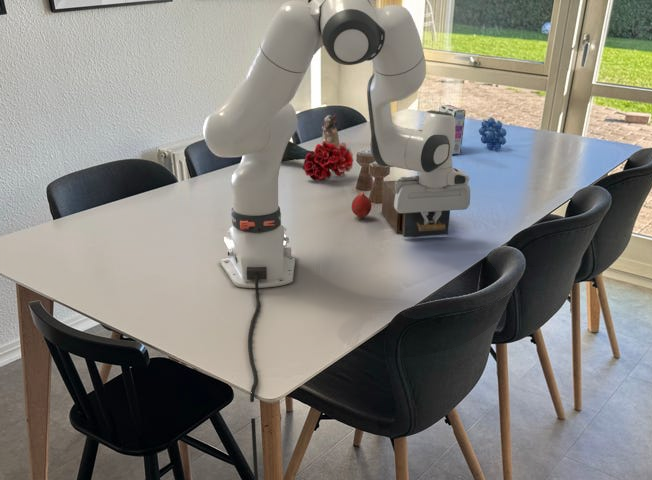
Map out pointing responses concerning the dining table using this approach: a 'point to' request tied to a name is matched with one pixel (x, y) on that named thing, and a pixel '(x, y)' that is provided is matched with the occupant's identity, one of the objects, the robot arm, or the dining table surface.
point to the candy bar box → (456, 125)
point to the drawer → (415, 224)
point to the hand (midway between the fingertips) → (429, 226)
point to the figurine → (330, 131)
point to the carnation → (321, 159)
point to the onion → (361, 205)
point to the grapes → (492, 133)
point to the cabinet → (390, 206)
